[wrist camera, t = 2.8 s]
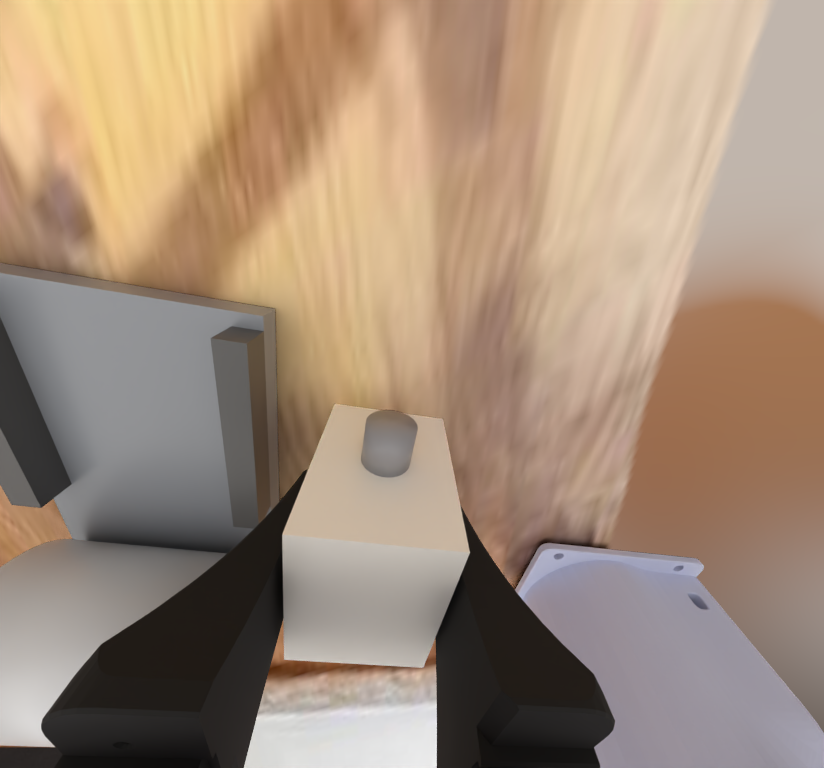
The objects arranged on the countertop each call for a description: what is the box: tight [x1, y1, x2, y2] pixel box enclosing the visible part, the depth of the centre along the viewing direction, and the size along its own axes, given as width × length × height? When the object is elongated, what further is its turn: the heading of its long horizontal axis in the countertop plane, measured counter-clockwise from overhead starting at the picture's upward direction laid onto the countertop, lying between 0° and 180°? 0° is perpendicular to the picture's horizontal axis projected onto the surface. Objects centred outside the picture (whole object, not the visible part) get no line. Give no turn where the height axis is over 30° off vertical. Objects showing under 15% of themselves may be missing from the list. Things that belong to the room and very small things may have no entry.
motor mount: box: [0, 263, 279, 747], centre depth 11 cm, size 9×16×7 cm, turn 170°
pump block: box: [282, 404, 470, 668], centre depth 11 cm, size 4×7×6 cm, turn 170°
